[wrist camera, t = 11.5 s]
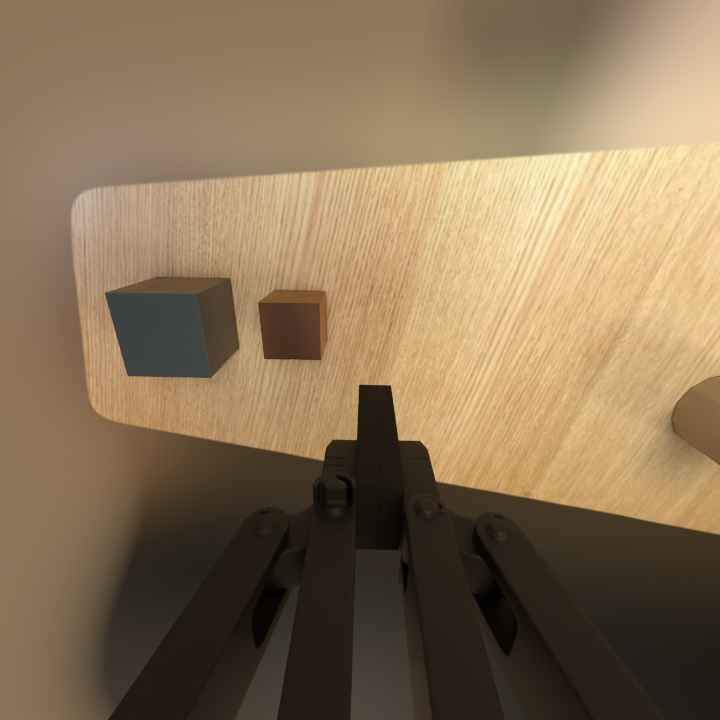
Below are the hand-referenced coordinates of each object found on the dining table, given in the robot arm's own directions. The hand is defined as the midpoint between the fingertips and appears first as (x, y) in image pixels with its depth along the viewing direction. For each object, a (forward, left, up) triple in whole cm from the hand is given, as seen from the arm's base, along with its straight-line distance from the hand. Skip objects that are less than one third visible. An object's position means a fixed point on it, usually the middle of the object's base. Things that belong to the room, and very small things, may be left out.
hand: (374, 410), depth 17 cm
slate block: (+14, -9, -18) cm, 25 cm away
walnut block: (+6, -3, -18) cm, 19 cm away
